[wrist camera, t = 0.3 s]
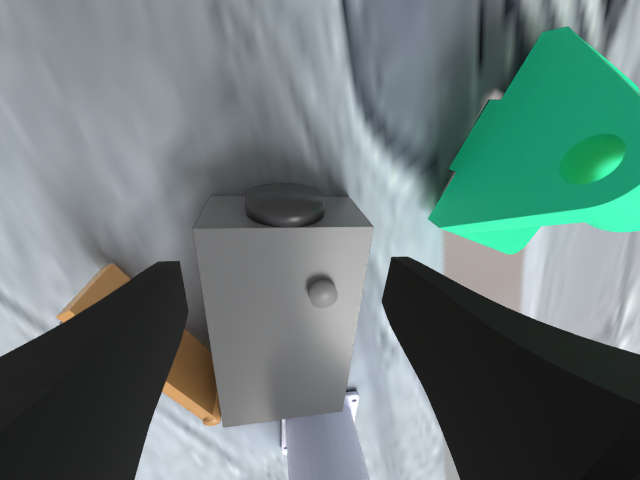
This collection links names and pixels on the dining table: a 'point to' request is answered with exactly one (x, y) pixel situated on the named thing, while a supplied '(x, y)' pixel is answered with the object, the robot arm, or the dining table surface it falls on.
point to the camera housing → (281, 298)
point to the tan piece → (190, 361)
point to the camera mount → (549, 151)
